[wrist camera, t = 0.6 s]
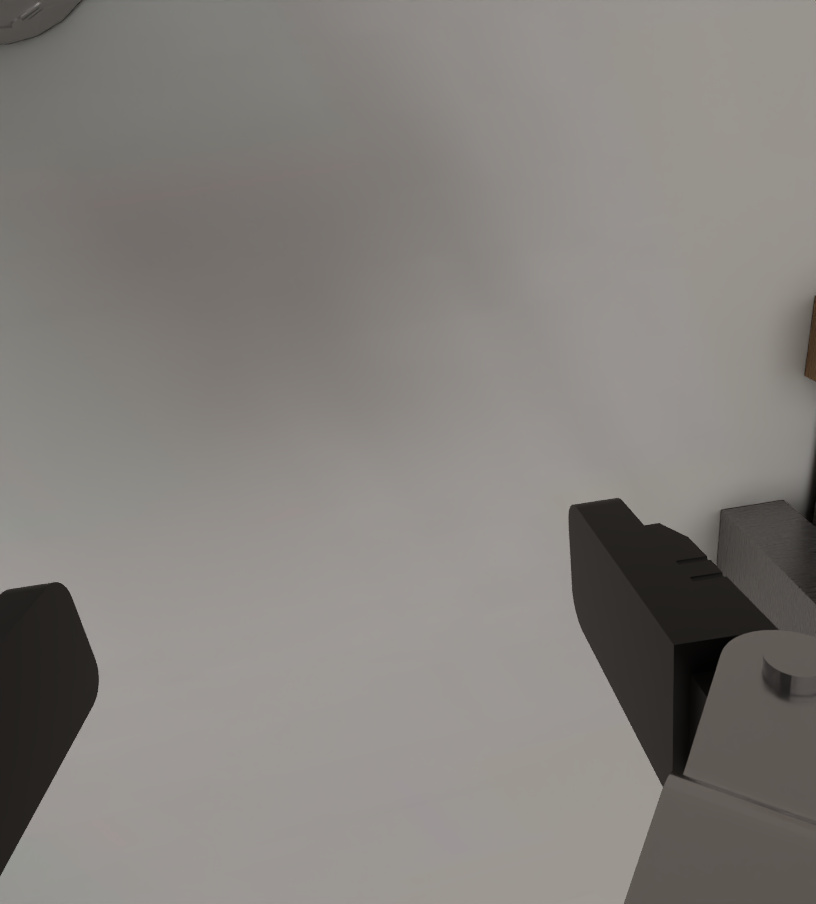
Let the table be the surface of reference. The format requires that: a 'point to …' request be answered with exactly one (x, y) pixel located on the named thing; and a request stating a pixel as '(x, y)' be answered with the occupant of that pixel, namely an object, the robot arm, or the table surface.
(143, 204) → the table surface
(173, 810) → the table surface
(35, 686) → the robot arm
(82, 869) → the table surface
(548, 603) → the table surface
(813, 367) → the wooden head mallet
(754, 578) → the slotted metal block
